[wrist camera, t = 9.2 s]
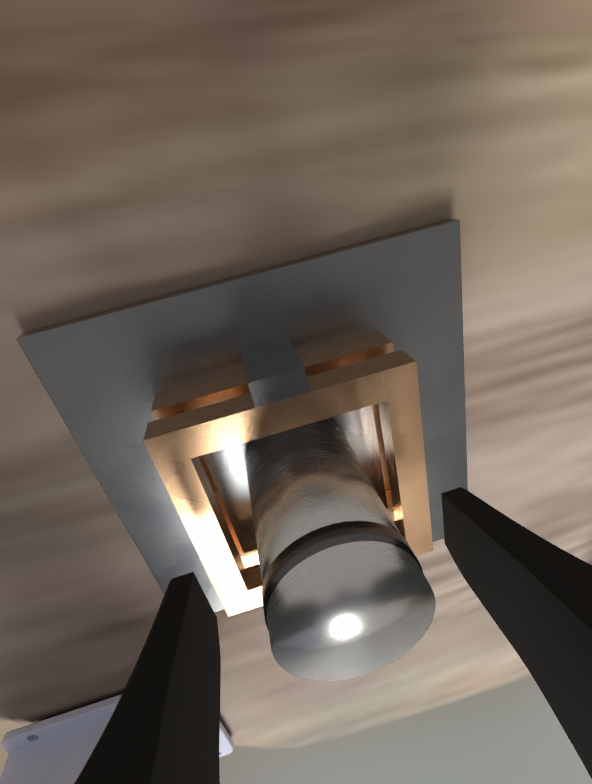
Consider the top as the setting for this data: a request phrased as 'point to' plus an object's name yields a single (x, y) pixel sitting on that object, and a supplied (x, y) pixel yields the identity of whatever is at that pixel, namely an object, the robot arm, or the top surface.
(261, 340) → the collar stand
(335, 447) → the metal cylinder
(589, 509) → the top surface
